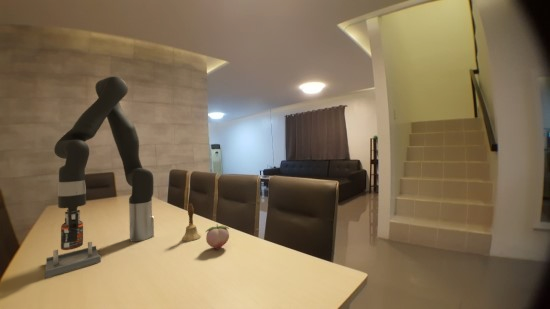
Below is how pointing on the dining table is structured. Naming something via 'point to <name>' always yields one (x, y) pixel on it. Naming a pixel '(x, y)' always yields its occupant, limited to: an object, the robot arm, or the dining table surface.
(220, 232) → the decorative fruit
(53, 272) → the pin tray
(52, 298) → the dining table surface
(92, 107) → the robot arm
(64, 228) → the supplement bottle
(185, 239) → the hand bell
